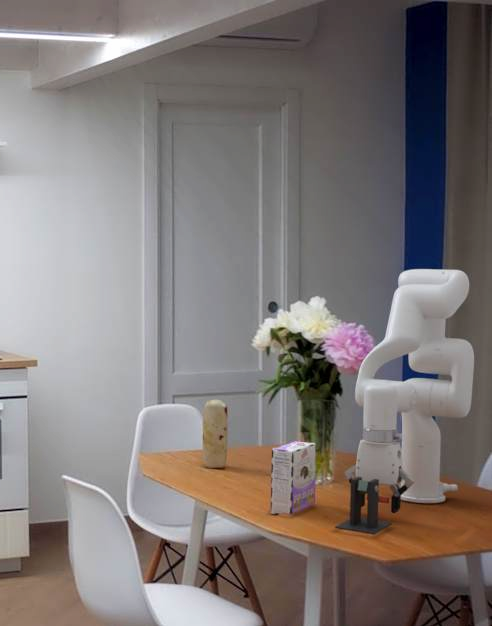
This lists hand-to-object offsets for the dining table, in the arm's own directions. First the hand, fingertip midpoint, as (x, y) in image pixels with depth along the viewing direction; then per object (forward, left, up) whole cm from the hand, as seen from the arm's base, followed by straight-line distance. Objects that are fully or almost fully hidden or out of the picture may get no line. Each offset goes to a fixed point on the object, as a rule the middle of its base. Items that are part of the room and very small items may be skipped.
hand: (377, 508), depth 254 cm
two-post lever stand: (+6, +7, -3) cm, 10 cm away
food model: (+20, -67, -3) cm, 71 cm away
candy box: (+16, -12, -3) cm, 21 cm away
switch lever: (+4, +4, +4) cm, 7 cm away
